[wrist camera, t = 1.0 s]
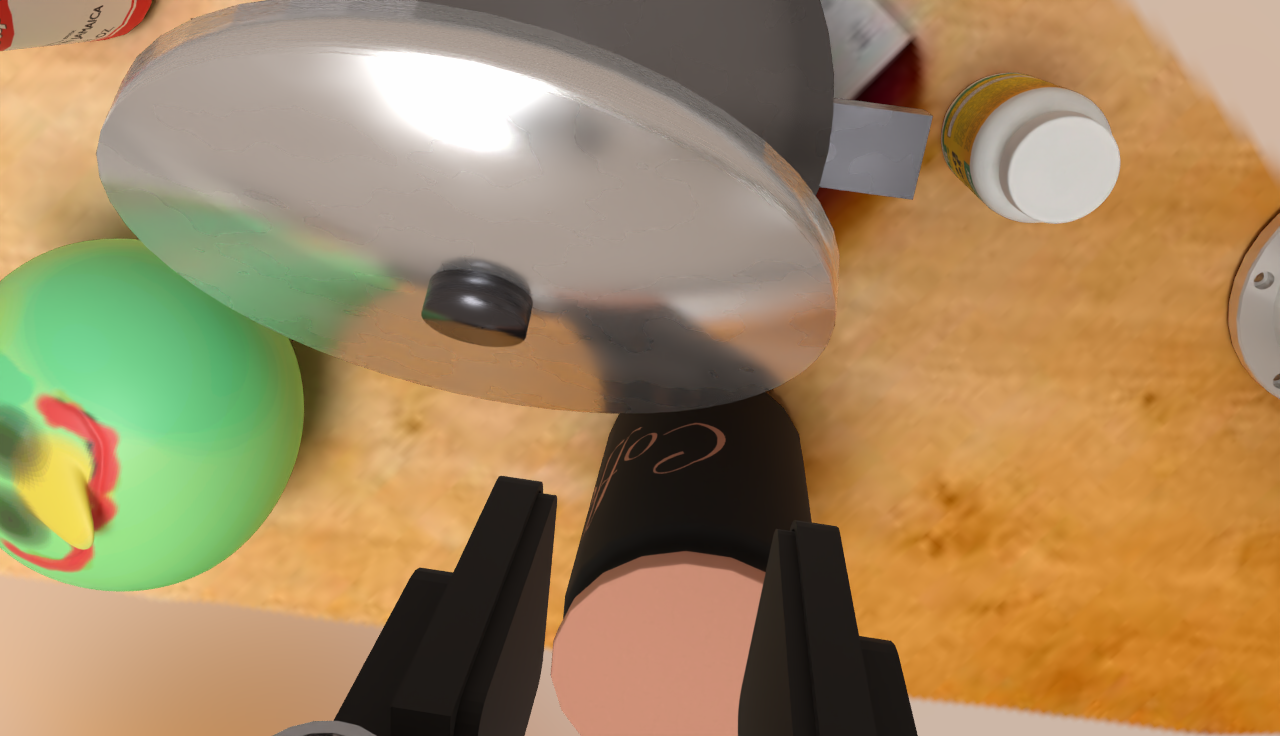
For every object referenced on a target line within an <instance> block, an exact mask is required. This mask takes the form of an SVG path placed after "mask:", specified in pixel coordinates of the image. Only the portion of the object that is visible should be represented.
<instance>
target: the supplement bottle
mask: <svg viewBox="0 0 1280 736" xmlns="http://www.w3.org/2000/svg"><path fill="white" fill-rule="evenodd" d="M941 145H942V151H943V155H944V158H945V161H946V163H947V165H948V166H949V168H950V169H951V171H952V172H953V173H954V174H955V175H956V176H957V177H958V178H959V179H960V180H961V181H962V182H963V183H964V184H965V185H966V186H967V187H968V188H970V190H971V191H972V192H973V193H974V194H975V195H976V196H977V197H979V198H980V199H981V200H982V201H983V202H984V203H985V204H986V205H987V206H988V207H989V208H990V209H992V210H993V211H995V212H996V213H998V214H999V215H1001V216H1003V217H1005V218H1008V219H1011V220H1014V221H1018V222H1024V223H1041V222H1044V223H1054V224H1057V223H1067V222H1071V221H1074V220H1077V219H1079V218H1082V217H1084V216H1086V215H1087V214H1089V213H1091V212H1092V211H1093V210H1095V209H1096V208H1097V207H1099V206H1100V205H1101V204H1102V203H1103V202H1104V201H1105V199H1106V198H1107V197H1108V196H1109V194H1110V193H1111V191H1112V189H1113V188H1114V186H1115V183H1116V181H1117V178H1118V174H1119V170H1120V153H1119V149H1118V146H1117V143H1116V141H1115V139H1114V137H1113V136H1112V132H1111V129H1110V126H1109V123H1108V121H1107V119H1106V117H1105V116H1104V114H1103V113H1102V111H1101V110H1100V109H1099V108H1098V107H1097V106H1096V105H1095V104H1094V103H1093V102H1092V101H1091V100H1090V99H1088V98H1086V97H1085V96H1083V95H1081V94H1079V93H1077V92H1075V91H1072V90H1069V89H1066V88H1063V87H1060V86H1057V85H1054V84H1051V83H1049V82H1046V81H1043V80H1040V79H1037V78H1035V77H1032V76H1029V75H1025V74H1020V73H1000V74H995V75H991V76H988V77H985V78H982V79H980V80H978V81H976V82H974V83H973V84H971V85H970V86H968V87H967V88H966V89H965V90H963V91H962V92H961V93H960V94H959V95H958V96H957V97H956V99H955V100H954V101H953V103H952V104H951V106H950V107H949V109H948V111H947V113H946V115H945V118H944V122H943V126H942V133H941Z"/></svg>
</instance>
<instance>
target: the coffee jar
mask: <svg viewBox="0 0 1280 736" xmlns="http://www.w3.org/2000/svg"><path fill="white" fill-rule="evenodd" d="M794 520H797V521H804V522H811V523H812V521H811V514H810V507H809V499H808V492H807V485H806V478H805V470H804V463H803V457H802V450H801V444H800V438H799V434H798V432H797V430H796V428H795V427H794V425H793V423H792V421H791V419H790V418H789V416H788V414H787V412H786V411H785V409H784V408H783V407H782V406H781V405H779V404H778V403H777V402H776V401H775V400H774V399H773V398H772V397H771V396H769V395H768V394H767V393H766V392H764V393H761V394H759V395H756V396H753V397H749V398H746V399H742V400H739V401H736V402H732V403H727V404H722V405H717V406H712V407H707V408H700V409H692V410H684V411H674V412H658V413H620V414H619V416H618V418H617V420H616V422H615V424H614V426H613V428H612V430H611V432H610V434H609V437H608V441H607V445H606V448H605V452H604V456H603V459H602V463H601V467H600V470H599V474H598V478H597V481H596V485H595V489H594V492H593V496H592V500H591V503H590V507H589V511H588V514H587V518H586V522H585V525H584V529H583V533H582V536H581V540H580V544H579V547H578V551H577V555H576V559H575V562H574V566H573V570H572V573H571V577H570V581H569V584H568V588H567V592H566V595H565V604H564V616H563V621H562V623H561V625H560V627H559V629H558V631H557V633H556V636H555V638H554V642H553V654H552V666H551V678H552V681H553V684H554V687H555V690H556V694H557V697H558V700H559V703H560V706H561V709H562V711H563V712H564V713H565V715H566V716H567V718H568V719H569V720H570V722H571V723H572V724H573V725H574V727H575V728H576V730H577V731H578V732H579V733H580V735H581V736H738V708H739V699H740V693H741V687H742V682H743V678H744V673H745V668H746V663H747V659H748V654H749V649H750V644H751V640H752V635H753V630H754V625H755V620H756V616H757V611H758V606H759V601H760V597H761V592H762V587H763V582H764V578H765V573H766V568H767V563H768V559H769V554H770V549H771V544H772V540H773V535H774V532H775V530H776V529H780V530H787V531H790V528H791V525H792V522H793V521H794Z"/></svg>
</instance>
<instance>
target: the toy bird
mask: <svg viewBox="0 0 1280 736" xmlns="http://www.w3.org/2000/svg"><path fill="white" fill-rule="evenodd" d="M303 422H304V395H303V385H302V379H301V374H300V369H299V365H298V361H297V358H296V355H295V352H294V349H293V347H292V344H291V342H290V340H289V338H288V337H286V336H284V335H281V334H279V333H277V332H275V331H273V330H271V329H269V328H267V327H265V326H263V325H261V324H259V323H257V322H255V321H253V320H251V319H249V318H248V317H246V316H244V315H242V314H240V313H238V312H237V311H235V310H233V309H231V308H229V307H228V306H226V305H224V304H222V303H221V302H219V301H218V300H216V299H215V298H213V297H211V296H210V295H208V294H207V293H205V292H203V291H202V290H200V289H199V288H197V287H196V286H194V285H193V284H192V283H190V282H189V281H188V280H186V279H185V278H183V277H182V276H181V275H179V274H178V273H177V272H175V271H174V270H173V269H171V268H170V267H169V266H168V265H166V264H165V263H164V262H163V261H162V260H161V259H160V258H158V257H157V256H156V255H155V254H154V253H153V252H152V251H150V250H149V249H148V248H147V247H146V246H145V245H144V244H143V243H142V242H141V241H140V240H138V239H120V238H115V239H97V240H89V241H83V242H78V243H73V244H69V245H66V246H62V247H59V248H56V249H53V250H51V251H48V252H46V253H44V254H41V255H39V256H37V257H35V258H33V259H31V260H30V261H28V262H26V263H24V264H23V265H21V266H20V267H18V268H17V269H15V270H14V271H12V272H11V273H10V274H8V275H7V276H6V277H5V278H3V279H2V280H1V281H0V548H1V549H2V550H4V551H5V552H6V553H7V554H9V555H10V556H11V557H13V558H14V559H16V560H17V561H19V562H20V563H22V564H23V565H25V566H27V567H28V568H30V569H32V570H34V571H36V572H38V573H40V574H42V575H44V576H47V577H49V578H52V579H54V580H57V581H60V582H63V583H67V584H70V585H74V586H78V587H83V588H88V589H95V590H103V591H140V590H148V589H155V588H160V587H164V586H169V585H172V584H176V583H179V582H182V581H185V580H187V579H190V578H192V577H195V576H197V575H199V574H201V573H203V572H205V571H207V570H209V569H211V568H213V567H214V566H216V565H217V564H219V563H221V562H222V561H224V560H225V559H226V558H228V557H229V556H230V555H232V554H233V553H234V552H235V551H237V550H238V549H239V548H240V547H241V546H242V545H243V544H244V543H245V542H246V541H247V540H248V539H249V538H250V537H251V536H252V535H253V534H254V533H255V532H256V531H257V530H258V528H259V527H260V526H261V525H262V524H263V522H264V521H265V520H266V518H267V517H268V515H269V514H270V513H271V511H272V510H273V508H274V507H275V505H276V503H277V502H278V500H279V498H280V496H281V495H282V493H283V491H284V489H285V487H286V485H287V483H288V480H289V478H290V476H291V473H292V471H293V468H294V465H295V462H296V459H297V455H298V452H299V448H300V443H301V438H302V431H303Z"/></svg>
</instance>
